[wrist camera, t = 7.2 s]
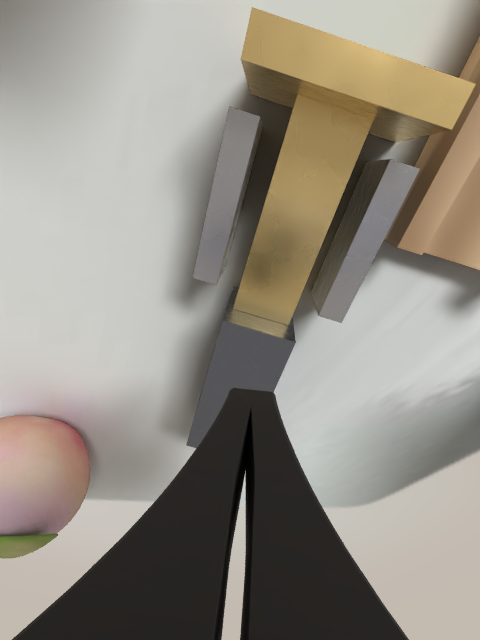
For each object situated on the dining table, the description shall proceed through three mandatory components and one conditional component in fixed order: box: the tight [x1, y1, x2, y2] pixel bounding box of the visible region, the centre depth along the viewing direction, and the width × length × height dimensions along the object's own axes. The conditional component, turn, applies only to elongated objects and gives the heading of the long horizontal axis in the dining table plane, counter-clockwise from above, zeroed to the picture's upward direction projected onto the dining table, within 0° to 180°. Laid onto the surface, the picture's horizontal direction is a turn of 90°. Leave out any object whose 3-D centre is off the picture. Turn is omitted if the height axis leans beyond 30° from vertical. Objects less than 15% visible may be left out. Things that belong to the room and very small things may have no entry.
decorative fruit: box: [0, 415, 90, 558], centre depth 20 cm, size 9×8×10 cm
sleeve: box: [192, 106, 420, 323], centre depth 14 cm, size 8×7×3 cm
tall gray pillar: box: [187, 287, 296, 448], centre depth 18 cm, size 4×11×4 cm, turn 164°
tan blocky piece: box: [233, 7, 476, 325], centre depth 13 cm, size 7×10×5 cm
